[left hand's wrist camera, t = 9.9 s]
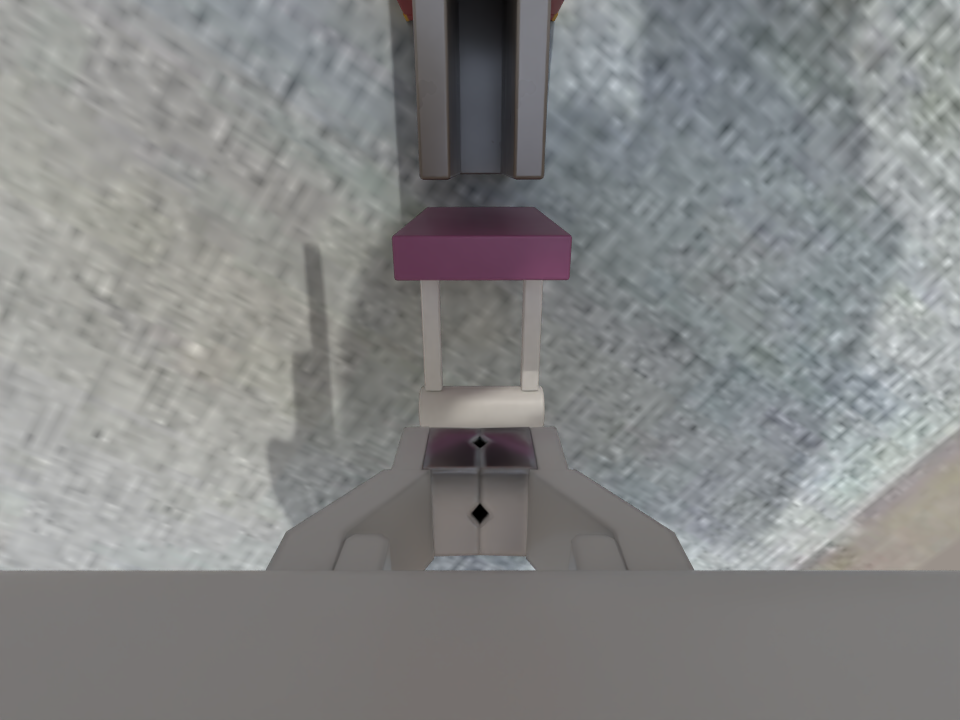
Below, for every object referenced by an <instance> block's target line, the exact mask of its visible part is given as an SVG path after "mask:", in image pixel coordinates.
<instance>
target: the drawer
mask: <svg viewBox="0 0 960 720" xmlns="http://www.w3.org/2000/svg"><path fill="white" fill-rule="evenodd" d="M412 7H413V30H414V54H415V78H416V102H417V125H418V149H419V173H420V178H421V179H423V180H448V179H450V178H452V177H454V176H456V175H458V174H504V175H507V176H509V177H512V178H514V179H542V178H543V177H544V165H545V141H546V116H547V91H548V67H549V42H550V17H551V0H412ZM571 245H572V237H571V235H570V234H568V233H567V232H566V231H564V230H563V229H562V228H561V227H559V226H558V225H557V224H555V223H554V222H553V221H552V220H550V219H549V218H548V217H546V216H545V215H544V214H543V213H541V212H540V211H539V210H537V209H536V208H535V207H428V208H426V209H425V210H424V211H422V212H421V213H420V214H419V215H418V216H416V217H415V218H414V219H413V220H412V221H410V222H409V223H408V224H407V225H406V226H404V227H403V228H402V229H401V230H399V231H398V232H397V233H396V234H395V235H393V237H392V247H393V263H394V278H395V280H420V288H421V311H422V333H423V355H424V377H425V386H423V387H421V390H420V395H419V422H420V426H421V427H426V426H429V427H430V428H431V427H456V428H501V427H543V424H544V416H545V403H544V392H543V389H542V387H541V386H539V363H540V339H541V316H542V293H543V280H568V279H569V277H570V261H571ZM440 280H523V310H522V344H521V379H520V384H521V386H443V372H442V339H441V307H440Z"/></svg>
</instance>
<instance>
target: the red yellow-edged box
mask: <svg viewBox="0 0 960 720" xmlns="http://www.w3.org/2000/svg"><path fill="white" fill-rule="evenodd" d="M397 1H398V3H399V5H400V7H401V9H402V11H403V15H404V17H405V19H406V21H409V20H413V7H412V0H397ZM563 2H564V0H551V17H550V20H552V21H555V19H556V17H557V15H558V11H559V9H560V7H561V5H562V4H563Z"/></svg>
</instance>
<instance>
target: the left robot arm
mask: <svg viewBox="0 0 960 720" xmlns="http://www.w3.org/2000/svg"><path fill="white" fill-rule="evenodd" d="M464 555H495V556H526V559H527V560H528V561H529V562H530V564H531V565H532V566H533V567H534V568H535V570H536V571H424V570H425V569H426V568H427V566H428V565H429V564H430V563H431V562H432V560H433V559H434V556H464ZM0 720H960V571H929V570H927V571H926V570H694V569H693V567H692V565H691V563H690V561H689V559H688V557H687V555H686V554H685V552H684V550H683V548H682V546H681V544H680V542H679V540H678V538H677V537H676V535H675V533H674V532H673V531H671V530H670V529H668V528H666V527H665V526H663V525H662V524H660V523H659V522H657V521H655V520H654V519H652V518H651V517H649V516H648V515H646V514H644V513H643V512H641V511H640V510H638V509H637V508H635V507H634V506H632V505H630V504H629V503H627V502H626V501H624V500H623V499H621V498H619V497H618V496H616V495H615V494H613V493H612V492H610V491H608V490H607V489H605V488H604V487H602V486H601V485H599V484H598V483H596V482H594V481H593V480H591V479H590V478H588V477H587V476H585V475H583V474H582V473H580V472H579V471H577V470H569V469H568V466H567V462H566V459H565V456H564V452H563V449H562V446H561V442H560V439H559V436H558V432H557V429H556V428H555V427H554V426H550V427H501V428H456V427H431V428H430V427H429V426H426V427H405V428H404V429H403V432H402V435H401V438H400V442H399V445H398V449H397V452H396V455H395V459H394V462H393V466H392V469H391V470H383V471H381V472H380V473H378V474H377V475H375V476H373V477H372V478H370V479H369V480H367V481H366V482H364V483H362V484H361V485H359V486H358V487H356V488H355V489H353V490H351V491H350V492H348V493H347V494H345V495H344V496H342V497H340V498H339V499H337V500H336V501H334V502H332V503H331V504H329V505H328V506H326V507H325V508H323V509H321V510H320V511H318V512H317V513H315V514H314V515H312V516H310V517H309V518H307V519H306V520H304V521H303V522H301V523H299V524H298V525H296V526H295V527H293V528H292V529H290V530H288V531H287V532H286V533H285V535H284V537H283V539H282V541H281V543H280V545H279V546H278V548H277V550H276V552H275V554H274V556H273V558H272V559H271V561H270V563H269V565H268V567H267V569H266V571H0Z"/></svg>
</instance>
